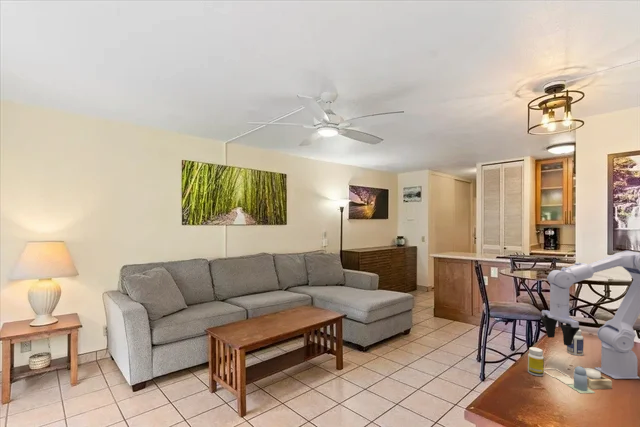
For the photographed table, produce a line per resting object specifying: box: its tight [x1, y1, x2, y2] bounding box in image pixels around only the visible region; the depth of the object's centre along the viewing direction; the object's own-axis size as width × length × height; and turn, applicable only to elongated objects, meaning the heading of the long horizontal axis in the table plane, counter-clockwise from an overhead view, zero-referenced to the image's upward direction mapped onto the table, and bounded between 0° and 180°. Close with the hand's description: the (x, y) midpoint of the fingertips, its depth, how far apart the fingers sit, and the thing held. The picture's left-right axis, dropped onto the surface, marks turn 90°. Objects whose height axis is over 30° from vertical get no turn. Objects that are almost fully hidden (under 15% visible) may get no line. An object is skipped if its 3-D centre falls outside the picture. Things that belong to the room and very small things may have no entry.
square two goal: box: [567, 384, 596, 394], centre depth 107 cm, size 5×5×1 cm
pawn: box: [573, 366, 588, 391], centre depth 107 cm, size 3×3×7 cm
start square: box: [544, 367, 571, 379], centre depth 118 cm, size 6×6×1 cm
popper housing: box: [572, 370, 613, 390], centre depth 111 cm, size 7×7×3 cm
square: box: [555, 376, 574, 385], centre depth 112 cm, size 5×5×1 cm
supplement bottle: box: [527, 346, 545, 377], centre depth 117 cm, size 5×5×8 cm
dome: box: [583, 367, 602, 379], centre depth 111 cm, size 4×4×3 cm
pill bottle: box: [566, 328, 585, 356], centre depth 136 cm, size 5×5×10 cm
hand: (559, 341), depth 122 cm, fingers open, 7 cm apart
